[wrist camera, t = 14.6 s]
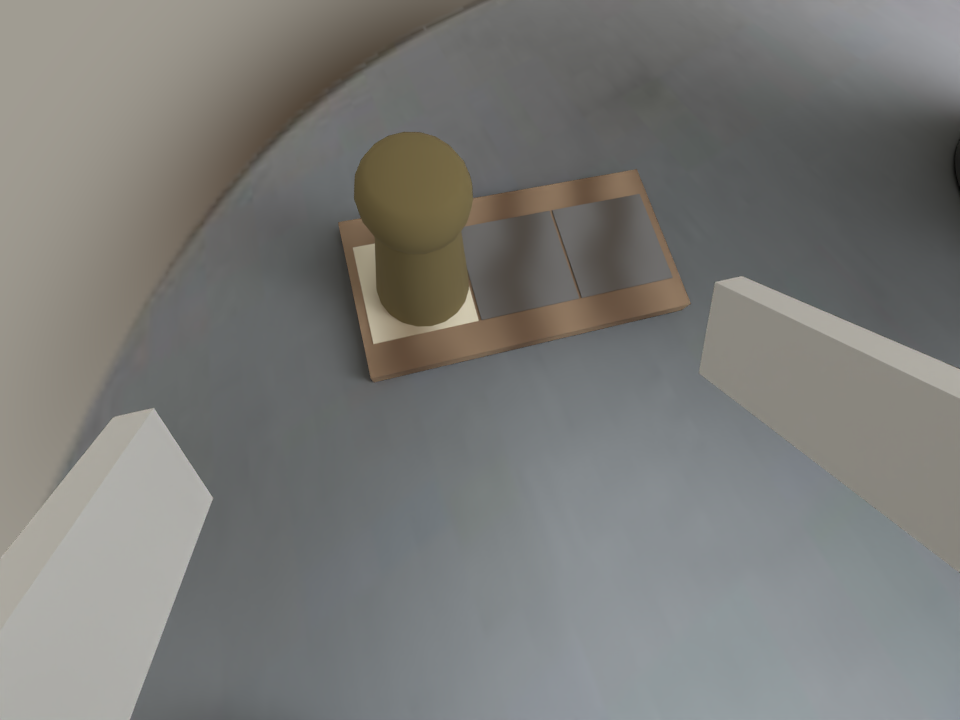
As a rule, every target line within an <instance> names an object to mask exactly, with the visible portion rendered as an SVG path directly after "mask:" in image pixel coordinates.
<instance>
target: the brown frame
mask: <svg viewBox="0 0 960 720" xmlns="http://www.w3.org/2000/svg"><path fill="white" fill-rule="evenodd" d="M338 224H339V229H340V234H341V239H342V243H343V248H344V253H345V258H346V262H347V267H348V272H349V277H350V282H351V286H352V291H353V296H354V301H355V305H356V310H357V315H358V320H359V325H360V329H361V334H362V339H363V344H364V348H365V353H366V358H367V363H368V367H369V372H370V377H371V379H372V381H373V382H378V381H382V380H386V379H390V378H395V377H399V376H403V375H407V374H412V373H416V372H420V371H424V370H429V369H433V368H437V367H441V366H446V365H450V364H454V363H458V362H463V361H467V360H471V359H475V358H480V357H484V356H488V355H492V354H497V353H501V352H505V351H509V350H514V349H518V348H522V347H526V346H531V345H535V344H539V343H543V342H548V341H552V340H556V339H560V338H565V337H569V336H573V335H577V334H582V333H586V332H590V331H595V330H599V329H603V328H607V327H612V326H616V325H620V324H624V323H629V322H633V321H637V320H641V319H646V318H650V317H654V316H658V315H663V314H667V313H671V312H675V311H680V310H682V309H684V308H685V307H687V306H688V305H690V304H691V303H690V300H689V298H688V295H687V293H686V290H685V288H684V285H683V283H682V280H681V278H680V276H679V273H678V271H677V268H676V266H675V263H674V261H673V258H672V256H671V253H670V251H669V248H668V246H667V243H666V241H665V238H664V236H663V233H662V231H661V228H660V226H659V223H658V221H657V218H656V216H655V213H654V211H653V208H652V206H651V203H650V201H649V199H648V196H647V194H646V191H645V189H644V186H643V184H642V181H641V179H640V176H639V174H638V171H637V169H635V170H630V171H624V172H618V173H613V174H607V175H601V176H596V177H590V178H585V179H579V180H573V181H568V182H562V183H556V184H551V185H545V186H540V187H534V188H528V189H523V190H517V191H512V192H506V193H500V194H495V195H489V196H483V197H478V198H473V202H472V208H471V211H470V215H469V218H468V221H467V223H466V225H465V226H464V228H463V229H462V231H461V232H462V239H463V245H464V252H465V258H466V265H467V271H468V281H469V291H468V294H467V297H466V301H465V303H464V304H463V306H462V307H461V308H460V310H459V311H458V313H457V314H455V315H454V316H453V317H451V318H450V319H448V320H447V321H446V322H443V323H440V324H437V325H434V326H420V327H416V326H413V325H409V324H406V323H402V322H401V321H399V320H397V319H396V318H394V317H393V316H391V315H390V314H389V313H388V312H387V310H386V309H385V308H384V307H383V305H382V304H381V302H380V299H379V296H378V293H377V291H376V263H375V237H374V236H373V234H372V233H371V232H370V231H369V229H368V228H367V227H366V226H365V225H364V223H363V222H362V219H361V218H360V219H354V220H349V221H343V222H338Z"/></svg>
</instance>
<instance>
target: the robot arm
mask: <svg viewBox="0 0 960 720" xmlns="http://www.w3.org/2000/svg"><path fill="white" fill-rule="evenodd" d="M955 168H956V175H957V179H958V183H959V186H960V141H959V144H958V147H957V150H956V156H955ZM699 374H701V375H702V376H703V377H705V378H706V379H707V380H709V381H710V382H711V383H712V384H714V385H715V386H716V387H718V388H719V389H720V390H722V391H723V392H724V393H725V394H727V395H728V396H729V397H731V398H732V399H733V400H735V401H736V402H737V403H739V404H740V405H741V406H742V407H744V408H745V409H746V410H748V411H749V412H750V413H752V414H753V415H754V416H756V417H757V418H758V419H759V420H761V421H762V422H763V423H765V424H766V425H767V426H769V427H770V428H771V429H773V430H774V431H775V432H776V433H778V434H779V435H780V436H782V437H783V438H784V439H786V440H787V441H788V442H789V443H791V444H792V445H793V446H795V447H796V448H797V449H799V450H800V451H801V452H803V453H804V454H805V455H806V456H808V457H809V458H810V459H812V460H813V461H814V462H816V463H817V464H818V465H820V466H821V467H822V468H823V469H825V470H826V471H827V472H829V473H830V474H831V475H833V476H834V477H835V478H836V479H838V480H839V481H840V482H842V483H843V484H844V485H846V486H847V487H848V488H850V489H851V490H852V491H853V492H855V493H856V494H857V495H859V496H860V497H861V498H863V499H864V500H865V501H867V502H868V503H869V504H870V505H872V506H873V507H874V508H876V509H877V510H878V511H880V512H881V513H882V514H884V515H885V516H886V517H887V518H889V519H890V520H891V521H893V522H894V523H895V524H897V525H898V526H899V527H900V528H902V529H903V530H904V531H906V532H907V533H908V534H910V535H911V536H912V537H914V538H915V539H916V540H917V541H919V542H920V543H921V544H923V545H924V546H925V547H927V548H928V549H929V550H931V551H932V552H933V553H934V554H936V555H937V556H938V557H940V558H941V559H942V560H944V561H945V562H946V563H948V564H949V565H950V566H951V567H953V568H954V569H955V570H957V571H958V572H959V573H960V369H959V368H957V367H954V366H952V365H950V364H947V363H944V362H942V361H939V360H937V359H935V358H932V357H930V356H928V355H925V354H923V353H921V352H918V351H916V350H914V349H911V348H909V347H906V346H904V345H902V344H899V343H897V342H895V341H892V340H890V339H888V338H885V337H883V336H881V335H878V334H876V333H874V332H871V331H869V330H867V329H864V328H862V327H860V326H857V325H855V324H853V323H850V322H848V321H846V320H843V319H841V318H839V317H836V316H834V315H832V314H829V313H827V312H825V311H822V310H820V309H818V308H815V307H813V306H811V305H808V304H806V303H804V302H801V301H799V300H797V299H794V298H792V297H789V296H787V295H785V294H782V293H780V292H778V291H775V290H773V289H771V288H768V287H766V286H764V285H761V284H759V283H757V282H754V281H752V280H750V279H747V278H745V277H743V276H740V277H736V278H731V279H727V280H722V281H718V282H715V286H714V291H713V297H712V303H711V308H710V314H709V319H708V325H707V330H706V336H705V342H704V347H703V353H702V358H701V364H700V369H699ZM212 499H213V497H212V496H211V494H210V493H209V491H208V490H207V488H206V487H205V485H204V484H203V482H202V481H201V479H200V478H199V476H198V474H197V473H196V471H195V470H194V468H193V467H192V465H191V464H190V462H189V461H188V459H187V458H186V456H185V455H184V453H183V452H182V450H181V449H180V447H179V446H178V444H177V443H176V441H175V439H174V438H173V436H172V435H171V433H170V432H169V430H168V429H167V427H166V426H165V424H164V423H163V421H162V420H161V418H160V417H159V415H158V414H157V412H156V411H155V409H154V408H151V409H147V410H142V411H138V412H133V413H129V414H125V415H120V416H116V417H113V418H112V419H111V421H110V422H109V423H108V424H107V426H106V427H105V428H104V429H103V431H102V432H101V433H100V434H99V436H98V437H97V438H96V439H95V441H94V442H93V443H92V444H91V446H90V447H89V448H88V449H87V451H86V452H85V453H84V454H83V456H82V457H81V458H80V459H79V461H78V462H77V463H76V464H75V466H74V467H73V468H72V469H71V471H70V472H69V473H68V474H67V476H66V477H65V478H64V479H63V481H62V482H61V483H60V484H59V486H58V487H57V488H56V489H55V491H54V492H53V493H52V494H51V496H50V497H49V498H48V499H47V501H46V502H45V503H44V504H43V506H42V507H41V508H40V509H39V511H38V512H37V513H36V514H35V516H34V517H33V518H32V519H31V521H30V522H29V523H28V524H27V526H26V527H25V528H24V529H23V531H22V532H21V533H20V534H19V536H18V537H17V538H16V539H15V541H14V542H13V543H12V544H11V546H10V547H9V548H8V549H7V550H6V552H5V553H4V554H3V556H2V557H1V558H0V720H130V718H131V715H132V713H133V710H134V707H135V705H136V702H137V699H138V697H139V694H140V691H141V689H142V686H143V683H144V681H145V678H146V675H147V673H148V670H149V667H150V665H151V662H152V659H153V657H154V654H155V651H156V649H157V646H158V643H159V641H160V638H161V635H162V633H163V630H164V627H165V625H166V622H167V619H168V617H169V614H170V611H171V609H172V606H173V603H174V601H175V598H176V595H177V593H178V590H179V587H180V585H181V582H182V579H183V577H184V574H185V571H186V569H187V566H188V563H189V561H190V558H191V555H192V553H193V550H194V547H195V545H196V542H197V539H198V537H199V534H200V531H201V529H202V526H203V523H204V521H205V518H206V515H207V513H208V510H209V507H210V505H211V502H212Z"/></svg>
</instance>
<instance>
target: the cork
mask: <svg viewBox="0 0 960 720" xmlns="http://www.w3.org/2000/svg"><path fill="white" fill-rule="evenodd" d="M354 200H355V202H356V205H357V208H358V211H359V214H360V217H361V219H362V222H363V223H364V225H365V226H366V227H367V228H368V229H369V231H370V232H371V233H372V234H373V236H374V237H375V263H376V291H377V293H378V296H379V299H380V302H381V304H382V305H383V307H384V308H385V309H386V310H387V312H388V313H389V314H390V315H391V316H393V317H394V318H396V319H397V320H399V321H401V322H402V323H406V324H409V325H413V326H416V327H420V326H434V325H437V324H440V323H443V322H446V321H447V320H448V319H450V318H451V317H453V316H454V315H455V314H457V313H458V311H459V310H460V308H461V307H462V306H463V304H464V303H465V301H466V297H467V294H468V291H469V281H468V271H467V265H466V258H465V252H464V245H463V239H462V232H461V231H462V229H463V228H464V226H465V225H466V223H467V221H468V218H469V215H470V211H471V208H472V202H473V192H472V182H471V178H470V175H469V172H468V170H467V168H466V165H465V163H464V161H463V160H462V159H461V158H460V157H459V155H458V154H457V153H456V152H455V151H454V150H453V149H452V148H451V147H450V146H449V145H448V144H446V143H445V142H443V141H442V140H440V139H438V138H437V137H435V136H431V135H428V134H424V133H421V132H402V133H398V134H393V135H389V136H387V137H385V138H384V139H382V140H380V141H378V142H377V143H375V144H374V145H373V146H372V147H371V149H370V150H369V151H368V152H367V153H366V154H365V155H364V157H363V158H362V159H361V161H360V164H359V166H358V169H357V171H356V174H355V184H354Z"/></svg>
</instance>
